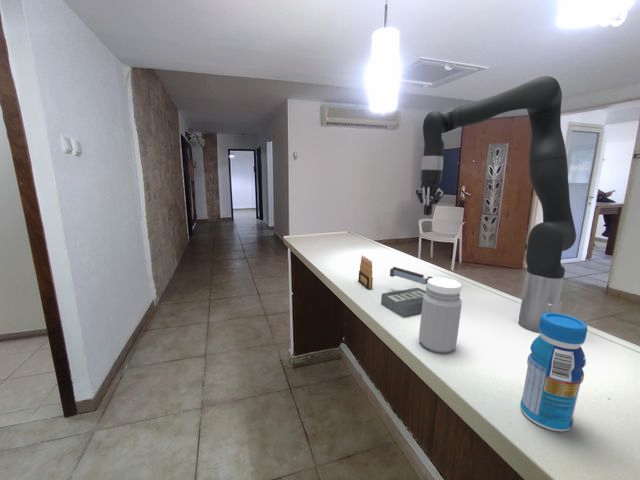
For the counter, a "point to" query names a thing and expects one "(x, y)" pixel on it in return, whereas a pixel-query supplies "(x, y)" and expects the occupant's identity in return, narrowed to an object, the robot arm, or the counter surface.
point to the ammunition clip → (366, 273)
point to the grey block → (404, 301)
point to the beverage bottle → (554, 372)
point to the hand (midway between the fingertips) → (427, 215)
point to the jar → (440, 315)
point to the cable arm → (408, 275)
